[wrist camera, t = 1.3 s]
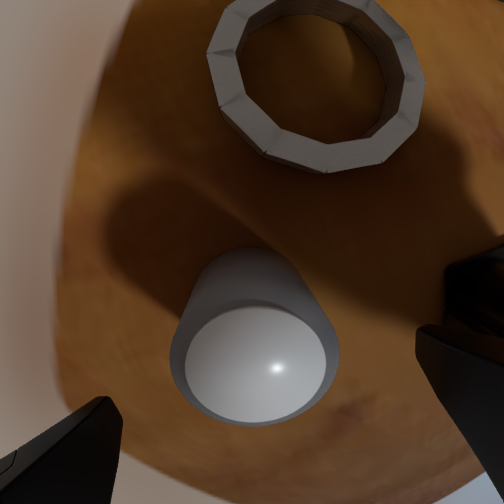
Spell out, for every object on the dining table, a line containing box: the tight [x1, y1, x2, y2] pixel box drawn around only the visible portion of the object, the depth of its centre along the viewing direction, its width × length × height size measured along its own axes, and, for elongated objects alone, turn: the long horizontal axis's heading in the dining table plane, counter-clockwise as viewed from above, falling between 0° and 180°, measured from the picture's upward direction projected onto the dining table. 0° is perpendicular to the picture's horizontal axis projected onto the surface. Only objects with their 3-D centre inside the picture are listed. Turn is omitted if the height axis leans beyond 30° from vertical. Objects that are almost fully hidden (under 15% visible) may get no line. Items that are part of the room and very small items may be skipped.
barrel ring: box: [206, 0, 425, 174], centre depth 10 cm, size 8×8×2 cm
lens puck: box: [170, 247, 340, 427], centre depth 11 cm, size 5×5×5 cm
